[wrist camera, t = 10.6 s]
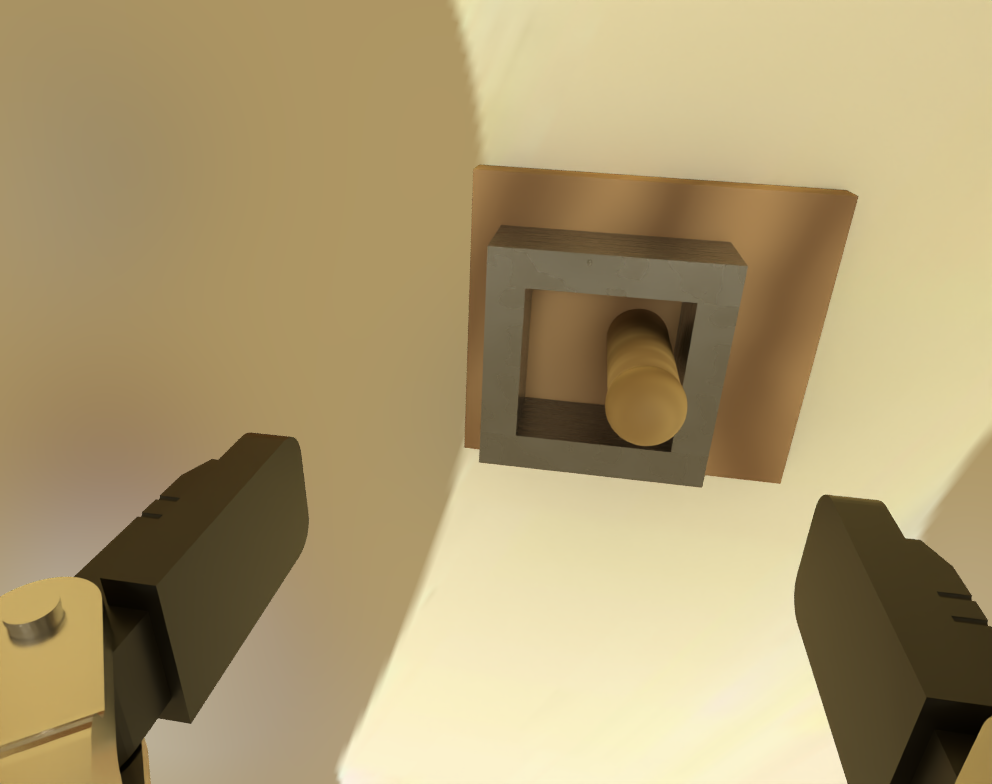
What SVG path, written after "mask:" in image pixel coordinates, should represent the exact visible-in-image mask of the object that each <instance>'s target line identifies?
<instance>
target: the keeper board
mask: <svg viewBox="0 0 992 784" xmlns="http://www.w3.org/2000/svg"><path fill="white" fill-rule="evenodd" d="M857 199H858V196H857V195H855V194H853V193H851V192H849V191H847V190H834V189H820V188H806V187H791V186H777V185H763V184H748V183H734V182H720V181H705V180H691V179H677V178H662V177H648V176H634V175H619V174H605V173H591V172H576V171H562V170H548V169H533V168H519V167H505V166H490V165H478V166H477V167H476V168H474V169H473V199H472V229H471V261H470V291H469V293H470V294H469V323H468V355H467V386H466V416H465V448H474V449H480V429H481V403H482V377H483V351H484V325H485V298H486V272H487V246H488V244H489V243H490V241H491V240H492V238H493V237H494V235H495V234H496V232H497V230H498V229H499V227H500V226H501V225H510V226H523V227H537V228H550V229H563V230H577V231H590V232H604V233H617V234H631V235H644V236H657V237H671V238H684V239H698V240H711V241H724V242H731V243H732V244H733V246H734V247H735V249H736V250H737V251H738V253H739V254H740V256H741V257H742V258H743V260H744V261H745V263H746V264H747V265H748V269H747V274H746V279H745V283H744V288H743V293H742V298H741V303H740V308H739V312H738V317H737V322H736V327H735V332H734V336H733V341H732V346H731V351H730V356H729V361H728V365H727V370H726V375H725V380H724V385H723V389H722V394H721V399H720V404H719V409H718V413H717V418H716V423H715V428H714V433H713V438H712V442H711V447H710V452H709V457H708V462H707V466H706V471H705V475H709V476H718V477H727V478H735V479H744V480H753V481H762V482H770V483H779V484H780V483H781V479H782V475H783V472H784V468H785V464H786V461H787V457H788V453H789V450H790V446H791V442H792V439H793V435H794V431H795V428H796V424H797V420H798V417H799V413H800V409H801V406H802V402H803V398H804V394H805V391H806V387H807V383H808V380H809V376H810V372H811V369H812V365H813V361H814V358H815V354H816V350H817V347H818V343H819V339H820V336H821V332H822V328H823V325H824V321H825V317H826V313H827V310H828V306H829V302H830V299H831V295H832V291H833V288H834V284H835V280H836V277H837V273H838V269H839V266H840V262H841V258H842V255H843V251H844V247H845V244H846V240H847V236H848V233H849V229H850V225H851V221H852V218H853V214H854V210H855V207H856V203H857ZM681 306H682V302H680V301H668V300H657V299H645V298H633V297H621V296H609V295H597V294H585V293H574V292H562V291H550V290H538V289H532V304H531V318H530V333H529V347H528V362H527V376H526V391H525V397H531V398H541V399H551V400H561V401H571V402H580V403H590V404H600V405H605V411H606V416H607V419H608V422H609V424H610V426H611V427H612V429H613V430H614V431H615V432H616V433H617V434H618V435H619V436H620V437H621V438H622V439H624V440H626V441H627V442H630V443H632V444H635V445H640V446H653V445H658V444H661V443H663V442H665V441H667V440H669V439H670V438H672V437H673V436H674V435H675V434H676V433H677V432H678V431H679V430H680V428H681V427H682V425H683V423H684V421H685V418H686V414H687V397H686V394H685V391H684V389H683V387H682V385H681V384H680V380H679V376H678V372H677V367H676V363H675V359H674V355H673V354H674V348H675V342H676V336H677V330H678V324H679V318H680V312H681Z"/></svg>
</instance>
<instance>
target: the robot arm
mask: <svg viewBox="0 0 992 784" xmlns="http://www.w3.org/2000/svg"><path fill="white" fill-rule="evenodd" d="M308 524H309V517H308V507H307V499H306V490H305V482H304V473H303V465H302V457H301V450H300V446H299V443H298V441H297V440H296V439H295V438H294V437H287V436H277V435H268V434H259V433H246V434H245V435H243V436H242V437H241V438H240V439H239V440H238V441H237V442H236V443H235V444H234V445H233V446H232V447H231V448H230V449H229V450H228V451H227V452H226V453H225V454H224V455H223V456H222V457H221V458H220V459H219V460H215V459H211V460H209V461H208V462H206V463H204V464H202V465H200V466H198V467H196V468H194V469H192V470H191V471H189V472H187V473H185V474H183V475H181V476H180V477H179V478H178V479H177V480H176V481H175V482H174V483H173V484H172V485H171V486H169V488H167V489H166V490H165V491H164V492H163V493H162V494H161V495H160V499H159V500H155V501H154V502H153V503H152V504H150V505H149V506H148V507H147V508H146V509H145V510H144V511H143V512H142V516H141V517H137V518H136V519H135V520H133V521H132V523H130V524H129V525H128V526H127V527H126V528H125V529H124V530H123V531H122V532H121V533H120V534H119V535H118V536H117V537H116V538H115V539H114V540H112V541H111V542H110V543H109V544H108V545H107V546H106V547H105V548H104V549H103V550H102V551H101V552H100V553H99V554H98V555H96V556H95V558H93V559H92V560H91V561H90V562H89V563H88V564H87V565H86V566H85V567H84V568H83V569H82V570H81V571H80V572H79V573H77V574H76V575H75V576H74V577H55V578H48V579H44V580H39V581H35V582H32V583H29V584H26V585H24V586H21V587H19V588H16V589H14V590H12V591H10V592H8V593H6V594H4V595H2V596H0V784H151V781H150V769H149V758H148V749H147V745H146V742H145V738H144V737H145V736H146V734H147V733H148V731H149V730H150V729H151V727H152V726H153V724H154V723H155V722H156V720H157V719H158V718H160V719H166V720H172V721H178V722H184V723H190V724H191V723H192V721H193V720H194V718H195V717H196V715H197V713H198V712H199V711H200V709H201V707H202V706H203V704H204V703H205V701H206V700H207V698H208V697H209V695H210V693H211V692H212V690H213V689H214V687H215V686H216V684H217V682H218V681H219V680H220V678H221V677H222V675H223V673H224V672H225V670H226V669H227V667H228V666H229V664H230V663H231V661H232V660H233V658H234V656H235V655H236V653H237V652H238V650H239V648H240V647H241V646H242V644H243V642H244V641H245V640H246V638H247V636H248V635H249V633H250V632H251V630H252V628H253V627H254V625H255V624H256V622H257V621H258V619H259V618H260V616H261V615H262V613H263V612H264V610H265V609H266V607H267V606H268V604H269V602H270V601H271V599H272V597H273V596H274V595H275V593H276V592H277V590H278V588H279V587H280V585H281V584H282V582H283V581H284V579H285V578H286V576H287V575H288V573H289V572H290V570H291V568H292V567H293V565H294V564H295V562H296V560H297V559H298V558H299V556H300V554H301V552H302V550H303V548H304V545H305V542H306V538H307V533H308ZM971 597H972V595H971V594H970V592H969V591H968V589H967V588H966V586H965V585H964V583H963V582H962V580H961V578H960V577H959V575H958V574H957V572H956V571H955V569H954V568H953V566H951V565H950V564H949V563H948V562H946V561H945V560H944V559H943V558H942V557H940V556H939V555H938V554H937V553H936V552H934V551H933V550H932V549H931V548H930V547H928V546H927V545H926V544H925V543H923V542H922V541H921V540H915V539H906V538H905V537H904V536H903V534H902V532H901V531H900V529H899V527H898V526H897V524H896V522H895V521H894V519H893V517H892V516H891V514H890V512H889V510H888V509H887V507H886V506H885V504H884V503H883V502H882V501H879V500H871V499H861V498H852V497H842V496H833V495H823V496H822V497H821V498H820V499H819V501H818V503H817V505H816V508H815V512H814V515H813V519H812V523H811V526H810V530H809V533H808V537H807V541H806V544H805V548H804V552H803V555H802V559H801V563H800V566H799V570H798V573H797V577H796V583H795V592H794V605H795V615H796V620H797V623H798V627H799V630H800V633H801V636H802V639H803V643H804V646H805V649H806V652H807V655H808V659H809V662H810V665H811V668H812V671H813V675H814V678H815V681H816V684H817V687H818V690H819V694H820V697H821V700H822V703H823V706H824V710H825V713H826V716H827V719H828V722H829V726H830V729H831V732H832V735H833V738H834V742H835V745H836V748H837V751H838V754H839V757H840V761H841V764H842V767H843V770H844V773H845V777H846V780H847V783H848V784H992V627H991V626H988V624H987V622H988V620H987V618H986V617H985V615H984V614H983V612H982V610H981V609H980V607H979V606H978V604H977V603H976V602H975V601H972V600H971Z"/></svg>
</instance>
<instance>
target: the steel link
mask: <svg viewBox="0 0 992 784" xmlns="http://www.w3.org/2000/svg"><path fill="white" fill-rule="evenodd" d="M747 269H748V265H747V264H746V263H745V261H744V260H743V258H742V257H741V256H740V254H739V253H738V251H737V250H736V249H735V247H734V246H733V244H732V243H731V242H724V241H711V240H698V239H684V238H671V237H657V236H644V235H631V234H617V233H604V232H590V231H577V230H563V229H550V228H537V227H523V226H510V225H501V226H500V227H499V229H498V230H497V232H496V234H495V235H494V237H493V238H492V240H491V241H490V243H489V244H488V246H487V272H486V298H485V325H484V351H483V377H482V403H481V429H480V455H479V462H481V463H489V464H498V465H507V466H516V467H525V468H534V469H543V470H551V471H560V472H569V473H578V474H587V475H596V476H605V477H613V478H622V479H631V480H640V481H649V482H658V483H667V484H676V485H684V486H693V487H702V486H703V481H704V476H705V471H706V466H707V462H708V457H709V452H710V447H711V442H712V438H713V433H714V428H715V423H716V418H717V413H718V409H719V404H720V399H721V394H722V389H723V385H724V380H725V375H726V370H727V365H728V361H729V356H730V351H731V346H732V341H733V336H734V332H735V327H736V322H737V317H738V312H739V308H740V303H741V298H742V293H743V288H744V283H745V279H746V274H747ZM532 289H538V290H550V291H562V292H574V293H585V294H597V295H609V296H621V297H633V298H645V299H657V300H668V301H680V302H682V306H681V312H680V318H679V324H678V330H677V336H676V342H675V348H674V354H673V355H674V359H675V363H676V367H677V372H678V376H679V380H680V384H681V385H682V387H683V389H684V391H685V394H686V397H687V414H686V418H685V421H684V423H683V425H682V427H681V428H680V430H679V431H678V432H677V433H676V434H675V435H674V436H673V437H672V438H670V439H669V440H667V441H665V442H663V443H661V444H658V445H653V446H640V445H635V444H632V443H630V442H627V441H626V440H624V439H622V438H621V437H620V436H619V435H618V434H617V433H616V432H615V431H614V430H613V429H612V427H611V426H610V424H609V422H608V419H607V416H606V411H605V405H600V404H590V403H580V402H571V401H561V400H551V399H541V398H531V397H525V391H526V376H527V362H528V347H529V333H530V318H531V304H532Z"/></svg>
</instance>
